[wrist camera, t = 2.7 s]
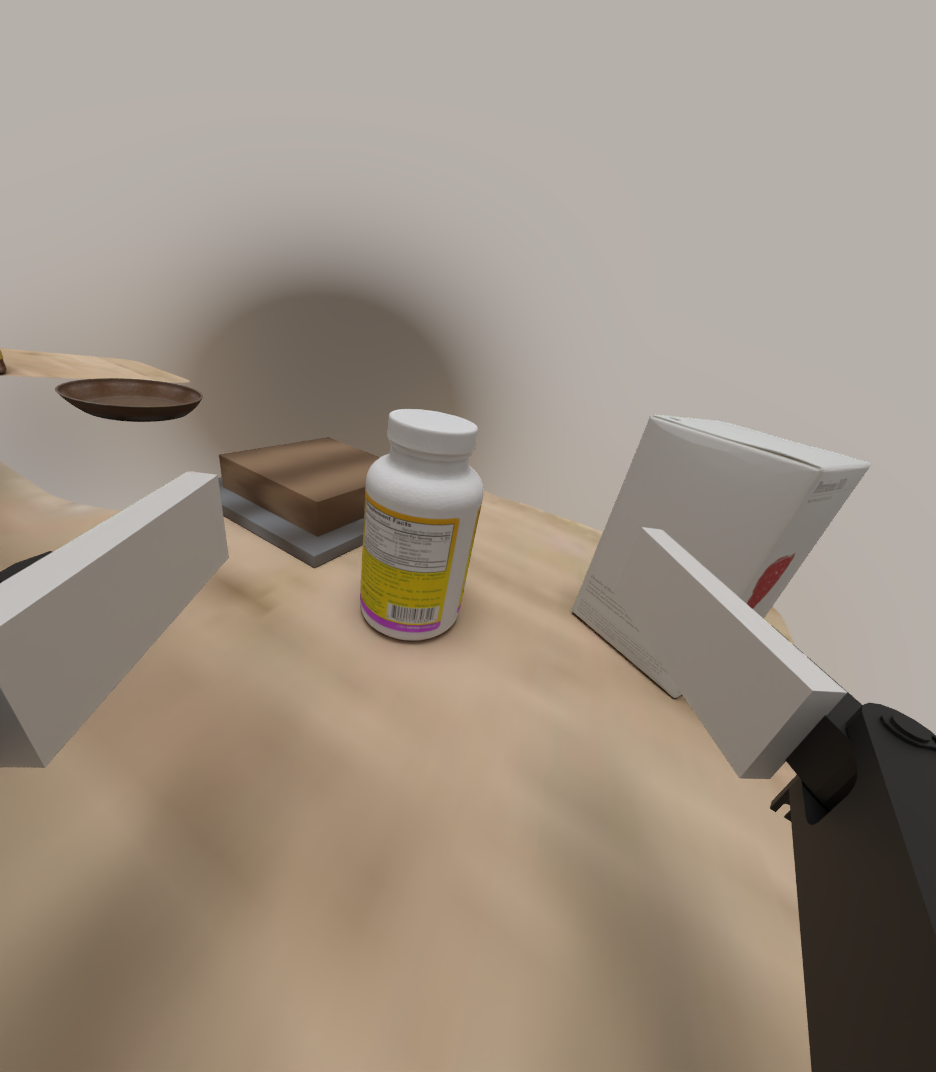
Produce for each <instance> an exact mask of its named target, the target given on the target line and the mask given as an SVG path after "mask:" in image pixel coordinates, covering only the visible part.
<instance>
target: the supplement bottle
mask: <svg viewBox="0 0 936 1072" xmlns="http://www.w3.org/2000/svg"><path fill="white" fill-rule="evenodd" d="M477 431H478V428H477V426H476V425H475V424H474V423H472V422H470V421H468V420H466V419H463V418H460V417H457V416H453V415H449V414H445V413H441V412H435V411H429V410H419V409H400V410H395V411H392V412H391V413H390V414H389V422H388V432H387V436H388V438H389V443H390V445H391V450H390V454H387V455H385V456H382V457H381V458H379V459H378V460H376V461H375V462H374V463H373V464H372V465H371V467H370V469H369V470H368V473H367V476H366V488H365V511H364V532H363V552H362V571H361V594H360V606H361V611H362V614H363V616H364V618H365V619H366V621H367V622H368V623H369V624H370V625H371V626H372V627H373V628H375V629H376V630H378V631H379V632H381V633H383V634H385V635H387V636H390V637H393V638H396V639H401V640H424V639H429V638H432V637H435V636H438V635H440V634H442V633H443V632H445V631H446V630H448V629H449V628H450V627H451V626H452V625H453V624H454V622H455V620H456V619H457V617H458V614H459V610H460V606H461V601H462V596H463V592H464V587H465V582H466V577H467V572H468V567H469V562H470V557H471V552H472V547H473V543H474V538H475V533H476V528H477V523H478V519H479V514H480V509H481V505H482V499H483V492H484V490H483V484H482V481H481V479H480V477H479V475H478V474H477V473H476V471H475V470H473V468H471V467H470V466H469V465H468V460H469V457H470V456H471V455H472V451H473V450H474V449H475V444H476V437H477Z"/></svg>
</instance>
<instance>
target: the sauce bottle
mask: <svg viewBox="0 0 936 1072" xmlns="http://www.w3.org/2000/svg"><path fill="white" fill-rule="evenodd" d="M5 371H6V366H5V364H4V361H3V356H2V353H1V351H0V373H3V372H5Z"/></svg>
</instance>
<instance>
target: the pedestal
mask: <svg viewBox="0 0 936 1072" xmlns="http://www.w3.org/2000/svg"><path fill="white" fill-rule="evenodd" d="M219 458H220V466H221V474H222V477H221V478H218V481H219V488H220V496H221V503H222V510H223V516H225V517H227V518H229V519H230V520H232V521H234V522H235V523H237V524H239V525H241V526H242V527H244V528H246V529H248V530H249V531H251V532H253V533H255V534H256V535H258V536H260V537H262V538H263V539H265V540H267V541H269V542H270V543H272V544H274V545H275V546H277V547H279V548H281V549H282V550H284V551H286V552H288V553H289V554H291V555H293V556H295V557H296V558H298V559H300V560H302V561H303V562H305V563H307V564H309V565H310V566H312V567H314V568H315V567H317V566H320V565H322V564H324V563H326V562H328V561H330V560H332V559H334V558H336V557H338V556H340V555H342V554H344V553H346V552H348V551H350V550H352V549H354V548H357V547H359V546H361V545H363V532H364V511H365V488H366V476H367V473H368V470H369V469H370V467H371V465H372V464H373V463H374V462H375V461H376V460H378V459H379V458H380V457H378V456H375V455H372V454H370V453H367V452H365V451H362V450H360V449H357V448H354V447H352V446H349V445H347V444H344V443H341V442H339V441H336V440H334V439H331V438H328V437H327V438H322V439H315V440H309V441H302V442H297V443H290V444H284V445H278V446H271V447H265V448H258V449H252V450H245V451H240V452H233V453H227V454H220V455H219Z"/></svg>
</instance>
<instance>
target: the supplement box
mask: <svg viewBox="0 0 936 1072" xmlns="http://www.w3.org/2000/svg"><path fill="white" fill-rule="evenodd" d="M869 467H870V463H869V462H865V461H861V460H858V459H855V458H852V457H849V456H846V455H842V454H839V453H835V452H831V451H827V450H824V449H820V448H815V447H811V446H808V445H804V444H801V443H797V442H793V441H790V440H786V439H783V438H780V437H776V436H773V435H769V434H766V433H763V432H759V431H756V430H752V429H749V428H745V427H742V426H738V425H735V424H731V423H727V422H723V421H715V420H704V419H695V418H686V417H673V416H663V415H652V416H650V418H649V421H648V423H647V426H646V428H645V431H644V433H643V435H642V438H641V440H640V443H639V445H638V448H637V450H636V453H635V455H634V458H633V460H632V463H631V465H630V468H629V470H628V472H627V475H626V477H625V480H624V482H623V485H622V487H621V490H620V493H619V495H618V497H617V500H616V502H615V505H614V507H613V510H612V512H611V515H610V517H609V519H608V522H607V524H606V527H605V530H604V532H603V534H602V537H601V539H600V542H599V544H598V546H597V549H596V551H595V554H594V557H593V559H592V561H591V564H590V567H589V569H588V571H587V574H586V576H585V579H584V581H583V584H582V586H581V589H580V591H579V594H578V596H577V599H576V601H575V604H574V606H573V608H572V612H574V613H575V614H576V615H577V616H578V617H580V618H581V619H582V620H583V621H584V622H585V623H587V624H588V625H589V626H590V627H591V628H592V629H594V630H595V631H596V632H597V633H598V634H599V635H601V636H602V637H603V638H604V639H605V640H607V641H608V642H609V643H610V644H611V645H612V646H614V647H615V648H616V649H617V650H618V651H619V652H621V653H622V654H623V655H624V656H625V657H626V658H628V659H629V660H630V661H631V662H632V663H633V664H635V665H636V666H637V667H638V668H639V669H641V670H642V671H643V672H644V673H645V674H647V675H648V676H649V677H650V678H651V679H652V680H654V681H655V682H656V683H657V684H658V685H659V686H660V687H662V688H663V689H664V690H665V691H666V692H667V693H668V694H669V695H671V696H672V697H673V698H677V697H679V696H680V695H682V693H681V692H680V690H679V689H678V687H677V686H676V684H675V683H674V681H673V680H672V679H671V677H670V676H669V674H668V673H667V671H666V670H665V668H664V667H663V665H662V664H661V662H660V661H659V659H658V658H657V657H656V655H655V654H654V652H653V651H652V649H651V648H650V646H649V645H648V643H647V642H646V640H645V639H644V637H643V636H642V635H641V633H640V632H639V630H638V629H637V627H636V626H635V624H634V623H633V621H632V620H631V618H630V617H629V616H628V614H627V613H626V611H625V610H624V608H623V607H622V605H621V604H620V602H619V601H618V599H617V598H616V596H615V595H614V594H613V593H614V591H615V588H616V586H617V584H618V581H619V579H620V577H621V574H622V572H623V570H624V567H625V565H626V562H627V560H628V558H629V555H630V553H631V551H632V548H633V546H634V543H635V541H636V539H637V536H638V534H639V532H640V529H641V527H645V528H653V529H661V530H663V531H664V532H665V533H667V534H668V535H669V536H670V537H671V538H672V539H673V540H674V541H676V542H677V543H678V544H679V545H680V546H681V547H682V548H684V549H685V550H686V551H687V552H688V553H689V554H690V555H692V556H693V557H694V558H695V559H696V560H697V561H698V562H699V563H701V564H702V565H703V566H704V567H705V568H706V569H707V570H709V571H710V572H711V573H712V574H713V575H714V576H715V577H716V578H718V579H719V580H720V581H721V582H722V583H723V584H724V585H726V586H727V587H728V588H729V589H730V590H731V591H732V592H734V593H735V594H736V595H737V596H738V597H739V598H740V599H741V600H743V601H744V602H745V603H746V604H747V605H748V606H749V607H751V608H752V609H753V610H754V611H755V612H756V613H757V614H759V615H760V616H761V617H762V618H763V619H764V617H765V616H766V614H767V613H768V612H769V610H770V609H771V607H772V606H773V604H774V603H775V602H776V600H777V599H778V597H779V596H780V594H781V593H782V592H783V590H784V589H785V587H786V586H787V584H788V583H789V582H790V580H791V579H792V577H793V576H794V574H795V573H796V571H797V570H798V569H799V567H800V566H801V564H802V563H803V561H804V560H805V559H806V557H807V556H808V554H809V553H810V551H811V550H812V549H813V547H814V545H815V544H816V543H817V541H818V540H819V538H820V537H821V536H822V534H823V533H824V531H825V530H826V528H827V527H828V526H829V524H830V523H831V521H832V520H833V518H834V517H835V515H836V514H837V513H838V511H839V510H840V508H841V507H842V505H843V504H844V503H845V501H846V500H847V498H848V497H849V495H850V494H851V493H852V491H853V490H854V489H855V487H856V486H857V484H858V483H859V481H860V480H861V479H862V477H863V476H864V474H865V473H866V472H867V470H868V469H869Z"/></svg>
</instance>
